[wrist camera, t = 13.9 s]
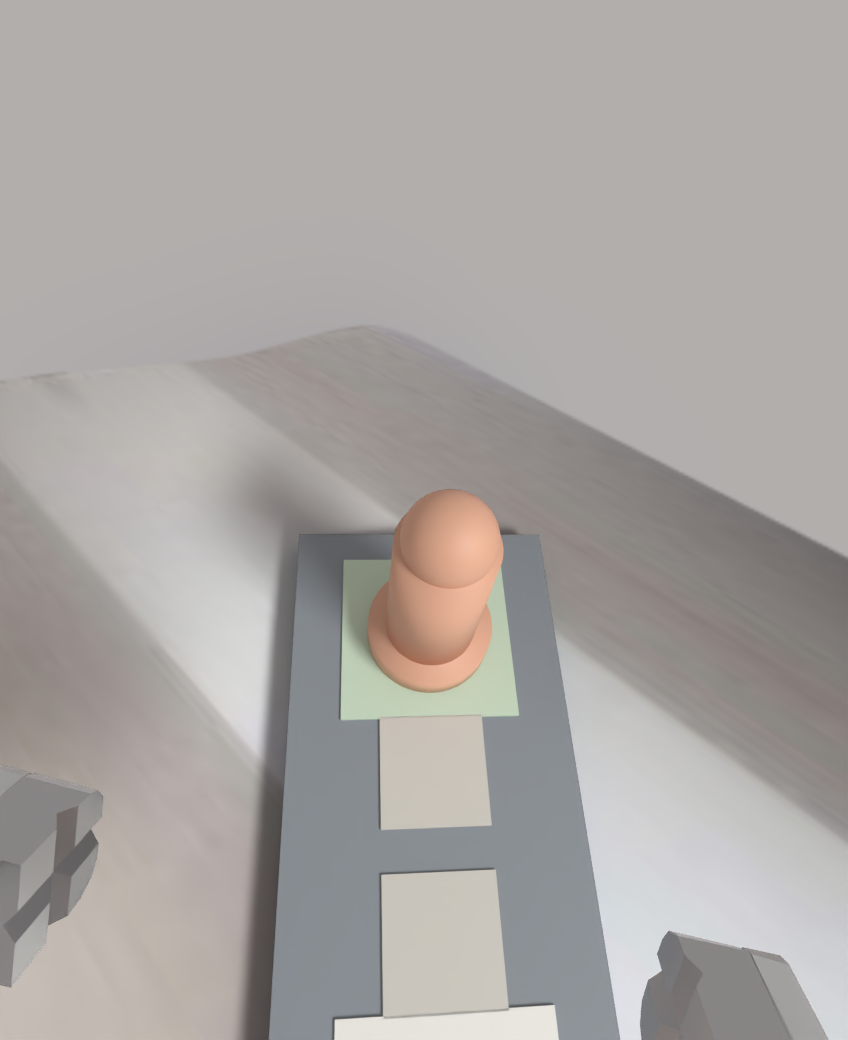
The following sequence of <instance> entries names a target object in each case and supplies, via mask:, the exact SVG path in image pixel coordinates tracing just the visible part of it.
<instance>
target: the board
mask: <svg viewBox="0 0 848 1040" xmlns="http://www.w3.org/2000/svg"><path fill="white" fill-rule="evenodd" d="M393 538H394V535H365V534H299V549H298V566H297V582H296V599H295V615H294V632H293V648H292V665H291V681H290V698H289V714H288V731H287V747H286V764H285V780H284V797H283V813H282V830H281V846H280V863H279V879H278V896H277V912H276V929H275V945H274V962H273V978H272V995H271V1011H270V1028H269V1040H620V1035H619V1029H618V1023H617V1017H616V1011H615V1004H614V998H613V992H612V986H611V980H610V973H609V967H608V961H607V955H606V949H605V942H604V936H603V930H602V924H601V918H600V911H599V905H598V899H597V893H596V887H595V880H594V874H593V868H592V862H591V855H590V849H589V843H588V837H587V831H586V824H585V818H584V812H583V806H582V800H581V793H580V787H579V781H578V775H577V769H576V762H575V756H574V750H573V744H572V738H571V731H570V725H569V719H568V713H567V707H566V700H565V694H564V688H563V682H562V676H561V669H560V663H559V657H558V651H557V645H556V638H555V632H554V626H553V620H552V613H551V607H550V601H549V595H548V589H547V582H546V576H545V570H544V564H543V558H542V551H541V545H540V539H539V535H501V538H502V542H503V549H504V551H503V560H502V564H501V567H500V569H499V572H498V574H497V577H496V580H495V582H494V585H493V587H492V590H491V593H490V595H489V598H488V600H487V603H486V604H487V606H488V609H489V611H490V615H491V620H492V635H491V640H490V644H489V647H488V649H487V651H486V654H485V656H484V658H483V660H482V662H481V664H480V666H479V667H478V669H477V670H476V672H475V673H474V674H473V675H472V676H471V677H470V678H469V679H468V680H466V681H465V682H464V683H462V684H460V685H459V686H457V687H455V688H452V689H450V690H446V691H443V692H436V693H424V692H417V691H413V690H409V689H407V688H404V687H402V686H400V685H398V684H396V683H395V682H393V681H392V680H391V679H389V678H388V677H387V676H386V675H385V674H384V673H383V672H382V671H381V669H380V668H379V667H378V666H377V664H376V662H375V661H374V659H373V656H372V654H371V651H370V648H369V643H368V617H369V611H370V608H371V604H372V602H373V600H374V598H375V596H376V594H377V593H378V591H379V590H380V589H381V588H382V587H383V585H384V584H386V583H387V582H388V581H389V580H390V569H391V558H392V547H393Z"/></svg>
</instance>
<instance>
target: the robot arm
mask: <svg viewBox="0 0 848 1040" xmlns="http://www.w3.org/2000/svg"><path fill="white" fill-rule="evenodd" d="M102 805H103V796H102V794H101V793H100V792H99V791H98V790H95V789H91V788H87V787H84V786H80V785H76V784H73V783H69V782H65V781H62V780H58V779H54V778H51V777H47V776H43V775H40V774H36V773H34V774H32V773H30V772H26V771H23V770H19V769H15V768H12V767H8V766H4V765H0V985H2V986H7V987H12V986H13V984H14V983H15V982H16V981H17V979H18V978H19V977H20V975H21V974H22V973H23V972H24V970H25V969H26V968H27V967H28V965H29V964H30V963H31V962H32V960H33V959H34V958H35V956H36V955H37V954H38V953H39V951H40V950H41V949H42V948H43V946H44V945H45V944H46V937H47V928H48V925H50V924H52V923H54V922H56V921H58V920H60V919H62V918H64V917H66V916H68V914H69V913H70V912H71V910H72V909H73V908H74V906H75V905H76V904H77V902H78V901H79V900H80V898H81V896H82V894H83V892H84V890H85V888H86V886H87V884H88V882H89V880H90V878H91V876H92V873H93V869H94V866H95V863H96V859H97V852H98V844H99V843H98V841H97V840H96V838H95V836H94V834H93V832H92V830H91V828H92V827H93V826H94V825H95V824H96V822H97V821H98V820H99V819H100V818H101V817H102ZM657 955H658V958H659V961H660V965H661V968H662V971H661V972H660V973H658V974H657V975H655V976H654V977H652V978H651V979H649V980H648V982H647V986H646V989H645V992H644V996H643V999H642V1007H641V1020H640V1028H641V1039H642V1040H829V1039H828V1037H827V1036H826V1034H825V1032H824V1030H823V1028H822V1026H821V1024H820V1022H819V1020H818V1018H817V1017H816V1015H815V1013H814V1011H813V1009H812V1007H811V1005H810V1003H809V1001H808V1000H807V998H806V996H805V994H804V992H803V990H802V988H801V986H800V984H799V983H798V981H797V979H796V977H795V975H794V973H793V971H792V969H791V967H790V966H789V964H788V963H787V962H786V961H785V960H784V959H783V958H782V957H781V956H780V955H775V954H770V953H766V952H761V951H757V950H752V949H748V948H739V947H735V946H731V945H727V944H722V943H718V942H714V941H710V940H706V939H701V938H697V937H693V936H689V935H685V934H680V933H676V932H672V931H669V932H668V933H667V934H666V935H665V936H664V938H663V939H662V942H661V945H660V947H659V950H658V953H657Z"/></svg>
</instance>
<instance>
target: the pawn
mask: <svg viewBox="0 0 848 1040" xmlns="http://www.w3.org/2000/svg"><path fill="white" fill-rule="evenodd" d="M503 551H504V549H503V542H502V538H501V535H500V530H499V526H498V522H497V520H496V518H495V516H494V514H493V512H492V511H491V510H490V508H489V507H488V506H487V505H486V504H485V503H484V502H483V501H482V500H481V499H479V498H478V497H476V496H474V495H472V494H470V493H468V492H465V491H461V490H455V489H446V490H439V491H435V492H432V493H430V494H428V495H426V496H424V497H423V498H421V499H420V500H418V501H417V502H416V503H415V504H414V505H413V506H412V507H411V509H410V510H409V511H408V513H407V514H406V515H405V516H404V517H403V518H402V519H401V521H400V522H399V524H398V526H397V528H396V530H395V534H394V538H393V547H392V558H391V569H390V580H389V581H388V582H387V583H386V584H384V585H383V587H382V588H381V589H380V590H379V591H378V593H377V594H376V596H375V598H374V600H373V602H372V604H371V608H370V611H369V617H368V643H369V648H370V651H371V654H372V656H373V659H374V661H375V662H376V664H377V666H378V667H379V668H380V669H381V671H382V672H383V673H384V674H385V675H386V676H387V677H388V678H389V679H391V680H392V681H393V682H395V683H396V684H398V685H400V686H402V687H404V688H407V689H409V690H413V691H417V692H424V693H436V692H443V691H446V690H450V689H452V688H455V687H457V686H459V685H460V684H462V683H464V682H465V681H466V680H468V679H469V678H470V677H471V676H472V675H473V674H474V673H475V672H476V670H477V669H478V667H479V666H480V664H481V662H482V660H483V658H484V656H485V654H486V651H487V649H488V647H489V644H490V640H491V635H492V620H491V615H490V611H489V609H488V606H487V604H486V603H487V600H488V598H489V595H490V593H491V590H492V587H493V585H494V582H495V580H496V577H497V574H498V572H499V569H500V567H501V564H502V560H503Z"/></svg>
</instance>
